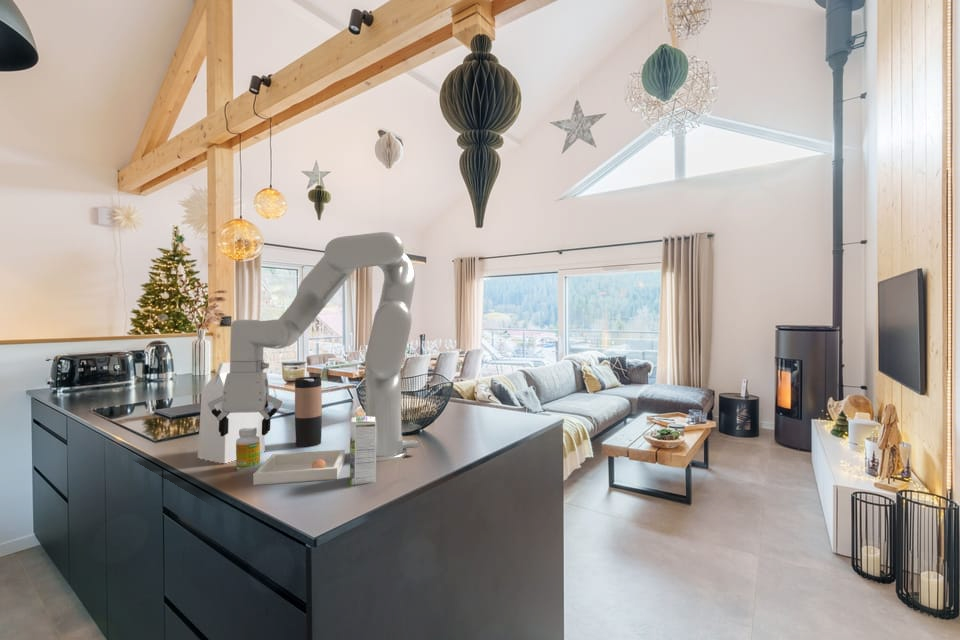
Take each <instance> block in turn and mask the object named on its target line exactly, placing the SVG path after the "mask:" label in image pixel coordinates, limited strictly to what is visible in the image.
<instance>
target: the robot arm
mask: <svg viewBox="0 0 960 640" xmlns="http://www.w3.org/2000/svg"><path fill="white" fill-rule="evenodd" d="M404 248H405V247H404V244H403V242H402V240H401V238H400V237H399V236H398V235H396V234H395V233H392V232H387V231H379V232H378V231H377V232H372V233H371V232H370V233H364V234H362V233H361V234H352V235H345V236H339V237H335V238H332V239H331V240H330V241H329V242H327V244H326V246H325V248H324V255H323V256H322V257H321V258H320V260H319V261H318V262H317V263H316V264H315V265H314V267H312V268H311V270H310V272H308V274H307V275H306V276H304V278H303V279H302V280H301V282H300V284H299V286H298V290H297V292H296V296H295V297H294V299H293V301H292V302H291V303H290V305H289V306H288V307H287V309H286V310H285V311H284V312H283V314H282V315H281V316H280V317H279V318H278V319H270V320H269V319H268V320H259V319H235V320H233V321H232V322H231V325H230V341H229V342H230V344H229V345H230V346H229V362H230V373H227V375H226V379H225V384H224V389H223V396H221V397H219V398H217V399H215V400H213V401H211V402H209V403H208V406H209V408H210V410H211V411H212V414H213V415H214V416H215V417H217V420H219V432H221V433H220V436H224V435H226V434H228V423H229V419H228V418H227V415H228V414H229V413H253V412H259V413H260V414H261V415H262V416H263V420H262V435H264V436H267V434H268V433H269V432H270V430H271V418H272V417H273V416H274V415H275V414H276V413H277V412H278V411H279V409H280V407H281V406H282V404H283V401H282V400H280V399H278V398H276V397H274V396H272V395H270V390H269V389H270V388H269V380H268V375H267V371H266V372H265V371H264V370H265V369H269V368H270V363H267V362H265V360H264V348H266V349H276V350H278V349H283V348H287V347H290V346H292V345H293V344H295V343H296V342H297V341H298V339H299V338H301V336H302V335H303V334H304V333H305V331H306V330H307V329H308V328H309V327H310V325H311V324H312V323H313V322H314V321H315V319H316V318H317V317H318V315H319V314H320V313H321V311H323V309H324V308H325V307H326V306H327V304H328V303H329V302H330V301H331V299H332V298H333V297H334V296H335V294H336V293H337V292H338V291H339V290H340V289H341V287H342V286H343V285H344V284H345V283H346V281H347V280H348V279H349V278H350V277H351V275H353V273H354V272H355V271H356V269H363V268H370V267H379V268H380V269H381V270H382V272H383V278H384V279H383V284H382V290H381V295H380V298H379V299H380V300H379V304H378V306H377V307H378V308H377V309H376V311H375V312H374V313H375V314H374V318H373V320H372V321H373V322H372V325H371V331H370V335H369V340H368V344H367V349H366V352H365V356H364V357H365V358H364V365H365V416H370V417H376V462H386V461H392V460H397V459H400V458H405V457H406V456H408V449H418V448H419V440H414V439H408V440H406V439H404V438H403V437H404V436H403V434H402V373H401V372H402V371H401V369H402V366H403V363H404V360H405V355H406V352H407V346H408V342H409V337H410V333H411V326H412V322H413V321H412V314H411V307H412V302H413V295H414V289H415V284H416V273H415V268H414V265H413V263H412V260H410V258H409V256H408V255H407V254H406V253H405V252H404V250H405V249H404ZM220 402H222V410H223V411H222V412H221V411H220V410H219V409H218V408H217V404H218V403H220ZM270 403H271V404H273V407H272V409H271V410H269V409H268V408H269V407H270Z"/></svg>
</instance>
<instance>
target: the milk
mask: <svg viewBox="0 0 960 640" xmlns="http://www.w3.org/2000/svg"><path fill="white" fill-rule="evenodd" d="M227 373H230V361H228V362H220V363H219V364H218V367H217V370H216V373H215V374H214V375H213V377H212V378H211V379H210V380H209V381H208V382H207V383H206V384H205V385H204V387H203V389H202V392H201V399H200V412H199V413H200V415H199V416H200V417H199V428H198V429H199V433H198V448H197V459H198V458H200V459H199V460H202V459H205V460H204V461H207V460H210V461H209V462H212V461H215V462H214V463H217V462H219V463H218V464H221V463H227V464H229V463H228V462H230V463H232V462H231V461H233V462H235V461H234V460H236V441H237V439H238V438H240V436H239V430H240V429H243V428H249V427H255V428H257V434H256V436H258V437H259V438H260V454H262V453H265V452H266V448H265V447H266V446H265V443H266V442H265V435H262V420H263V419H264V417H263V416H262V415H261V414H260V413H259V412H253V413H229V414H228V415H227V418H228V419H229V423H228V434H226V435H224V436H220V433H221V432H219V420H217V417H215V416H214V415H213V414H212V411H211V410H210V408H209V406H208V403H209V402H211V401H213V400H215V399H217V398H219V397H221V396H223V389H224V384H225V379H226V375H227ZM217 408H218V409H219V410H220V411H221V412H222V411H223V410H222V402H220V403H218V404H217ZM264 451H265V452H264ZM261 452H262V453H261Z"/></svg>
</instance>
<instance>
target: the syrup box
mask: <svg viewBox="0 0 960 640" xmlns="http://www.w3.org/2000/svg"><path fill="white" fill-rule="evenodd" d="M349 436H350V437H349V438H350V439H349V440H350V441H349V486H356V485H364V484H372V483H377V461H376V417H370V416H366V415H365V416H364V415H363V416H354V417H351V419H350V435H349Z"/></svg>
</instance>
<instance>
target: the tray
mask: <svg viewBox="0 0 960 640" xmlns="http://www.w3.org/2000/svg"><path fill="white" fill-rule="evenodd" d="M316 459H323V460H324V461H325V463H326V467H325V468H314V469H312V463H313V462H314V461H315V460H316ZM345 461H346V449H336V450H335V449H334V450H319V451H318V450H317V451H305V452H304V451H303V452H301V451H300V452H288V453H285V452H284V453H273V454H271V455H270V456H269V458H267V459H266V460H265V461H264V462H263V463H262V465H260V467H259V468H258V469H257V470H256V471H255V472H254V473H253V475H252V476H253V477H252V479H253V482H252V484H253V486H258V485H271V484H272V485H273V484H284V483H285V484H286V483H287V484H288V483H300V482H312V481H326V480H329V481H330V480H337V479H338V478H339V475H340V473H341V470H342V468H343V465H344V463H345Z"/></svg>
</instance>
